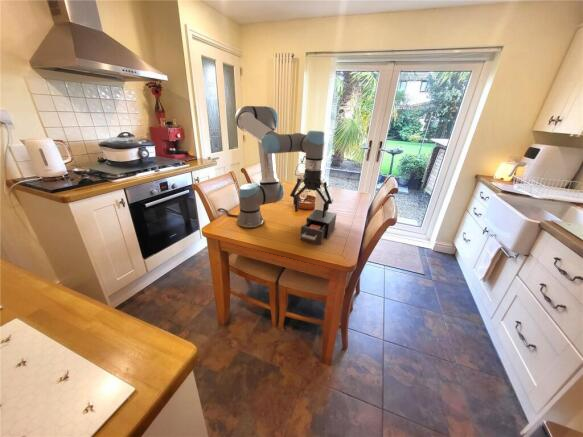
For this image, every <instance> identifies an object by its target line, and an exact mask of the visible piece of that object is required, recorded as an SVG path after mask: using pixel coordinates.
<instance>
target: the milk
mask: <svg viewBox="0 0 583 437" xmlns="http://www.w3.org/2000/svg"><path fill="white" fill-rule="evenodd" d="M320 187H321V188H322V191H323V192H324V194H325V195H326V192H325V189H324V187H323V185H321V186H320ZM326 197H327V195H326ZM327 198H328V197H327ZM314 201H315V202H314V211H315V210H316V209H317V210H322V211H323V206H324V203H325V202H324V201H323V199H322V198H321V196H320V195H319V193H318V192H317V191H316V190H315V200H314ZM326 212H329V209H328V210H327V211H326Z"/></svg>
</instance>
